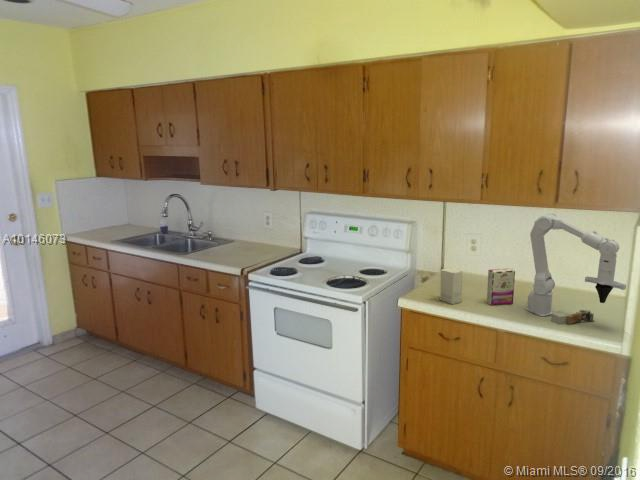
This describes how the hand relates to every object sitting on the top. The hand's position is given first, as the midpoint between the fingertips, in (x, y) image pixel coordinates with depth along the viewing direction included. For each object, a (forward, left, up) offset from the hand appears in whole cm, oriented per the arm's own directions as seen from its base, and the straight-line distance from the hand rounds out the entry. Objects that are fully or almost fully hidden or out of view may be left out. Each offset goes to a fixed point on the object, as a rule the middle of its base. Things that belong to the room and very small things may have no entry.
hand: (602, 302), depth 189 cm
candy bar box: (-38, -17, -11) cm, 43 cm away
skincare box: (-50, -36, -11) cm, 62 cm away
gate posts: (-7, 0, -10) cm, 12 cm away
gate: (-7, -4, -10) cm, 13 cm away
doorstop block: (-10, -11, -11) cm, 18 cm away
